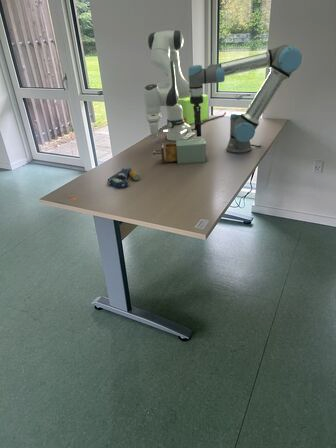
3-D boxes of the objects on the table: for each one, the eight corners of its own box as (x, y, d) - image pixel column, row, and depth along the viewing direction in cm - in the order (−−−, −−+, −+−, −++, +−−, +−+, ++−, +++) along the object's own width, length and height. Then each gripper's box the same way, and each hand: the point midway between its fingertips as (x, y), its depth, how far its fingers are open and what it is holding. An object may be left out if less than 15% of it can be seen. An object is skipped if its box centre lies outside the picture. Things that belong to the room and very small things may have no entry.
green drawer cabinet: (177, 163, 203) (176, 145, 198) (177, 157, 212) (176, 140, 207) (206, 161, 203) (205, 143, 197) (204, 155, 212) (204, 138, 206)
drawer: (153, 163, 204) (152, 149, 199) (154, 158, 212) (152, 144, 207) (188, 161, 203) (188, 146, 198) (188, 155, 211) (187, 141, 206)
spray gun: (146, 174, 192) (124, 172, 198) (145, 167, 190) (123, 165, 196) (127, 190, 176) (104, 187, 183) (125, 183, 174) (102, 180, 181)
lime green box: (191, 115, 302) (190, 88, 290) (208, 118, 288) (208, 90, 276) (170, 121, 289) (168, 93, 277) (187, 125, 275) (185, 95, 263)
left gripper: (149, 111, 203) (151, 134, 210) (147, 119, 185) (150, 144, 192) (159, 110, 202) (161, 133, 209) (158, 119, 185) (160, 143, 192)
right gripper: (188, 92, 199) (190, 127, 210) (191, 100, 177) (193, 140, 188) (201, 91, 198) (202, 126, 209) (205, 99, 177) (206, 138, 188)
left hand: (156, 138), depth 201 cm, fingers closed
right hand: (198, 133), depth 199 cm, fingers open, 13 cm apart
